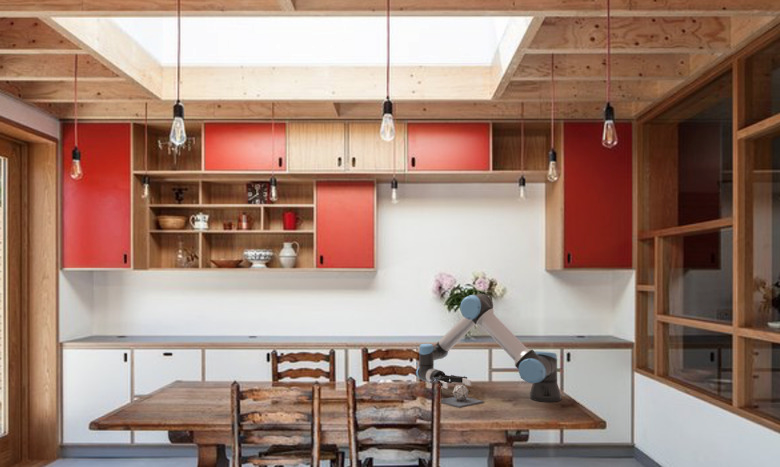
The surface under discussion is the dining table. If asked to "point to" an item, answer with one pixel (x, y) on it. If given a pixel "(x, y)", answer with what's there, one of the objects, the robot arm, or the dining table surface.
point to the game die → (460, 392)
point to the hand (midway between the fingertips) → (458, 384)
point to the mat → (460, 402)
